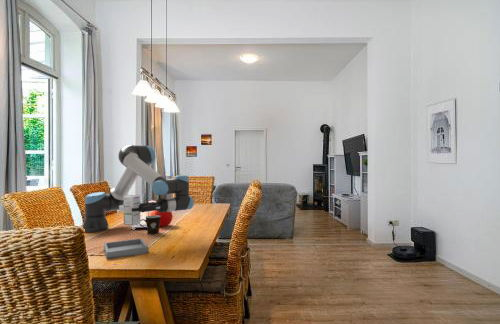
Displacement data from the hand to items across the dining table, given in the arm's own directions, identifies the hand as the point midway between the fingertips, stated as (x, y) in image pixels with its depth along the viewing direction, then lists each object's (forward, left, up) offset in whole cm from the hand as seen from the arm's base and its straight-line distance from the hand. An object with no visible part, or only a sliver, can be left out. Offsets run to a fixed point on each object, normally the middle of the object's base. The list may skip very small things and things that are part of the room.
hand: (121, 209), depth 149 cm
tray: (+3, 0, -20) cm, 20 cm away
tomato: (-24, +48, -20) cm, 58 cm away
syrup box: (+2, +5, -8) cm, 10 cm away
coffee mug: (-16, +31, -20) cm, 41 cm away
